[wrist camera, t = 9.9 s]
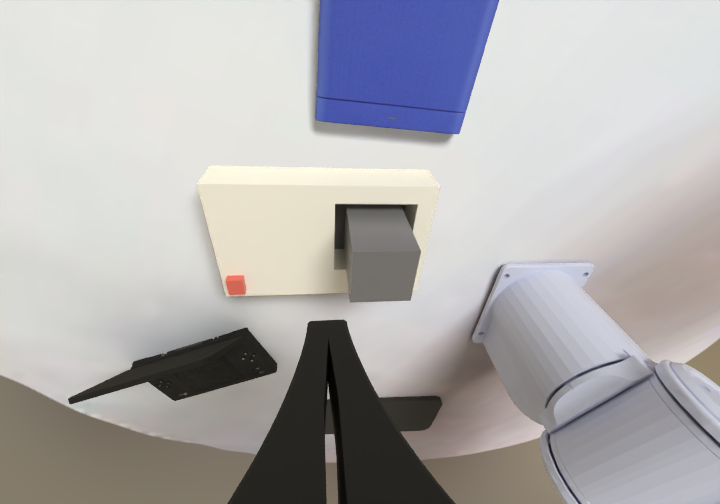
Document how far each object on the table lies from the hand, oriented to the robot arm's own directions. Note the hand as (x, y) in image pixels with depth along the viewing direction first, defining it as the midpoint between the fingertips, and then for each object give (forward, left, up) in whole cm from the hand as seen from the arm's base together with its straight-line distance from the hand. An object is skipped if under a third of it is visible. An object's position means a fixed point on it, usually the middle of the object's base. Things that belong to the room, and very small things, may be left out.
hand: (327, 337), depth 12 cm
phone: (-28, -6, -11) cm, 31 cm away
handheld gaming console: (-15, +11, -11) cm, 21 cm away
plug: (-1, -3, -10) cm, 11 cm away
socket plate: (-1, 0, -11) cm, 11 cm away
